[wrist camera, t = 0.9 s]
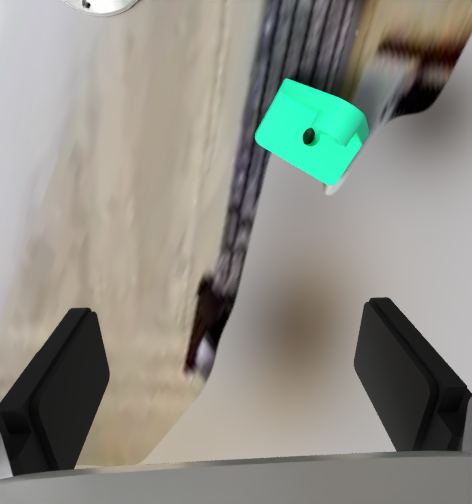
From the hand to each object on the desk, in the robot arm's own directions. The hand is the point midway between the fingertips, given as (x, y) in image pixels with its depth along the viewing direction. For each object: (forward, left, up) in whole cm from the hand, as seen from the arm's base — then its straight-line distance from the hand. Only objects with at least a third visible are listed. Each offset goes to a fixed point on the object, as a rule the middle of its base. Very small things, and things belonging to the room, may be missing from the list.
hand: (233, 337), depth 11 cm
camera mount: (+5, +10, -35) cm, 36 cm away
